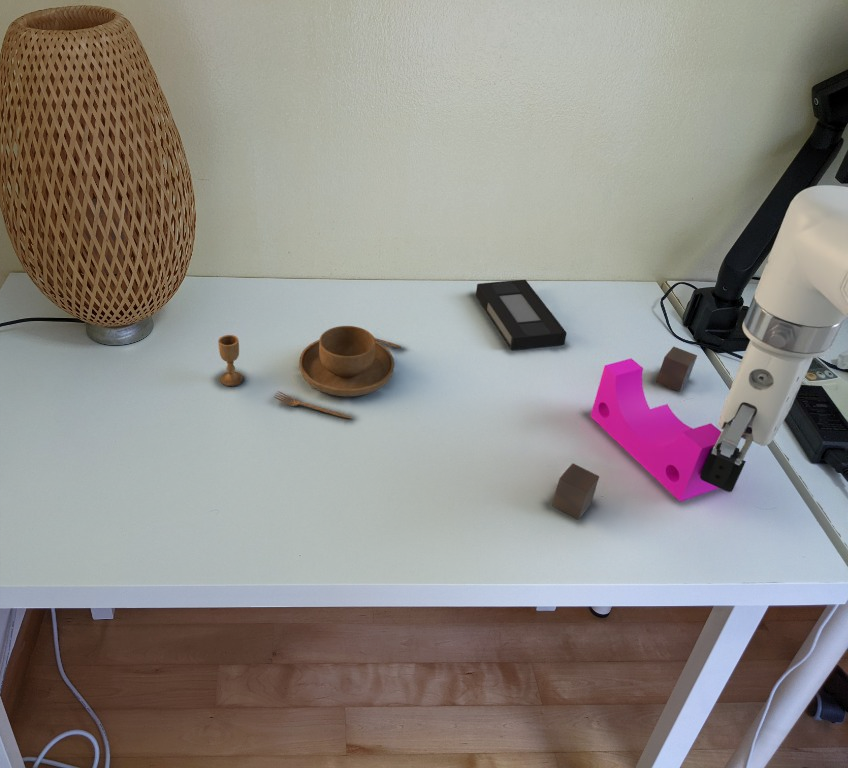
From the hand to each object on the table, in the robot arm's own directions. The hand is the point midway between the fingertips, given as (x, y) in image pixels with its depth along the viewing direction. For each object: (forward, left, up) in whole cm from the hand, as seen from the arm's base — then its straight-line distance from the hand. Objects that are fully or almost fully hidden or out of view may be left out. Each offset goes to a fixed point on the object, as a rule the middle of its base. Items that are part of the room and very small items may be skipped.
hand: (731, 459), depth 82 cm
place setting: (+47, +13, -3) cm, 49 cm away
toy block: (+8, 0, -3) cm, 8 cm away
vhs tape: (+33, -14, -3) cm, 36 cm away
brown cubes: (+11, 0, -3) cm, 11 cm away
